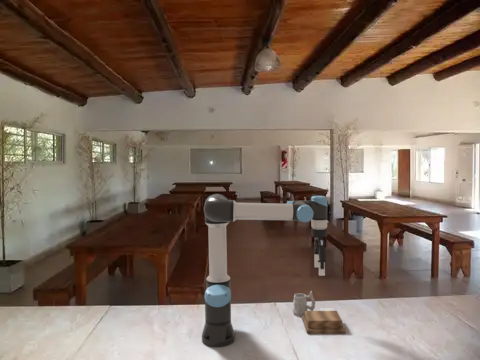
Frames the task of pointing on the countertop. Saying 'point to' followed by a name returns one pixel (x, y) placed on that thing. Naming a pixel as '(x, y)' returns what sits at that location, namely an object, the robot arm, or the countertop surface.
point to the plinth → (323, 322)
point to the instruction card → (326, 309)
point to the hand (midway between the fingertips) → (319, 271)
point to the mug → (302, 304)
